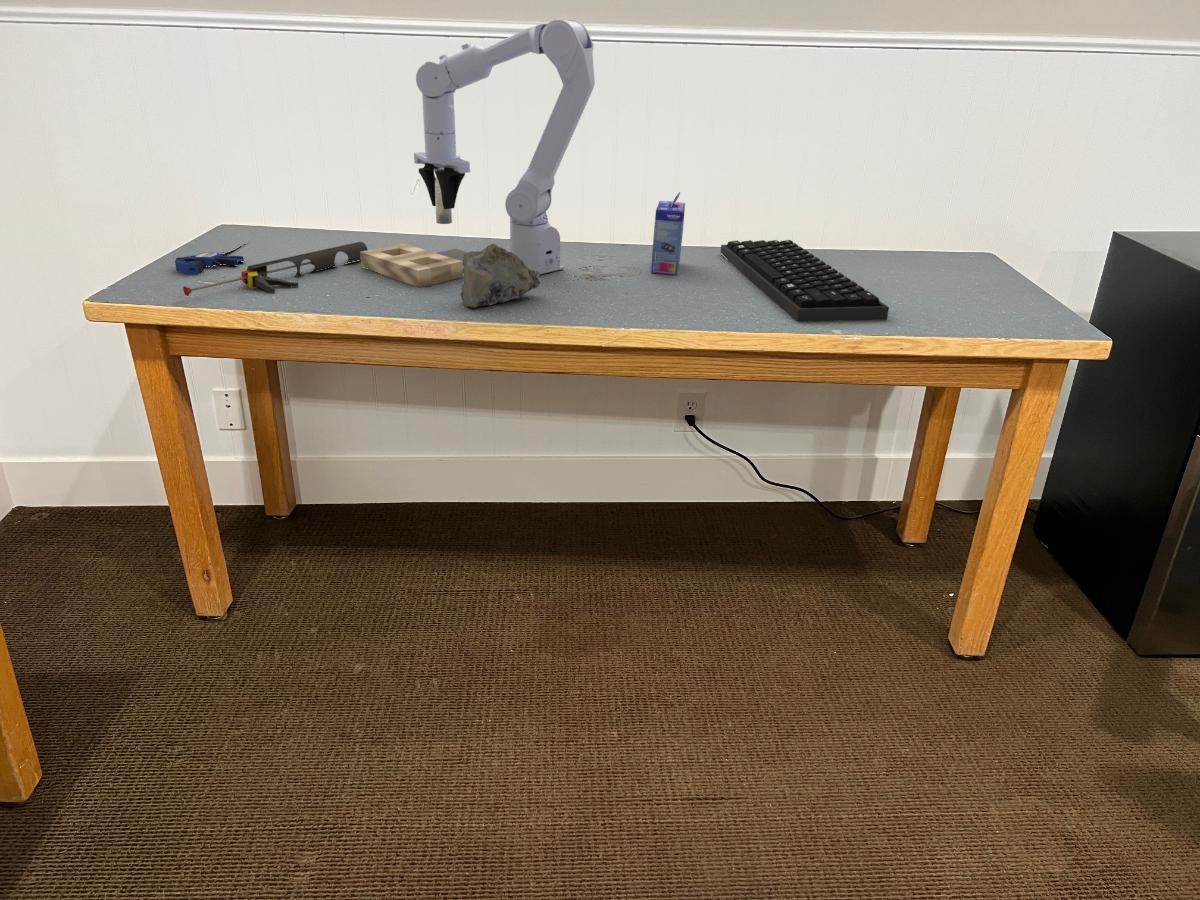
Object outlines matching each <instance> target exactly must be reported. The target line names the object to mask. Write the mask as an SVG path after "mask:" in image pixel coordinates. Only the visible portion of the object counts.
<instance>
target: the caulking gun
mask: <svg viewBox="0 0 1200 900" xmlns="http://www.w3.org/2000/svg"><path fill="white" fill-rule="evenodd" d="M367 250H369V249H368V246H367V244H365V242H364V241H356V242H352V243H347V244H343V245H339V246H333V247H329V248H325V249H321V250H316V251H312V252H311V251H309V252H307V253H302V254H298V255H297V254H296V255H292V256H287V257H284V258H278V259H274V260H270V261H269V260H268V261H264V262H260V263H256V264H251V265H248V266H247V267H246V270H243V271H241V274H240V275H241V276H240V277H236V278H232V279H227V280H223V281H218V282H214V283H210V284H204V285H200V286H197V287H193V288H190V287H187V286H186V285H184V286H183V287H182V290H183V291H182V292H183V294H184V295H185V296H186V297H189V296H190V294H191V293H192V292H193V291H199V290H202V289H203V290H204V289H207V288H212V287H216V286H221V285H224V284H229V283H232V282H237V281H242V283H243V284H245V285H247V286H248V288H249V290H253V289H257V288H260V289H262V290H263V291H265V292H267V293H270V294H275V293H276V289H275V288H273V286H279V287H283V288H284V287H285V288H294V287H293V286H297V287H296V288H298V287H299V282H298V281H297V282H293V281H288V280H286V279H281V278H277V277H275V278H274V277H270V276H268V275H269V274H272V273H276V272H282V271H286V270H290V269H294V268H296V274H294V276H295V277H298V276H297V275H300V276H302V275H301V274H302V272H301V267H303V266H306V265H307V266H308V265H313V266H314V267H313V270H310V272H312V273H314V272H313V271H316V272H318V271H317V270H321V269H325V268H328V267H333V266H336V262H335V261H336V256H337V254H338V253H340V252H341V253H344V254H345V255H347V258H348V259H347V260H346V261H347V262H346V261H345V263H348V262H352V261H357V260H361V258H360V252H361V251H367ZM305 260H308V261H306V262H303V261H305ZM285 262H291V263H293V265H290V266H284V267H280V268H275V269H271V270H268V266H271V265H276V264H281V263H285ZM333 268H334V267H333ZM325 270H326V269H325ZM321 271H322V270H321ZM300 272H301V273H300ZM291 286H292V287H291Z"/></svg>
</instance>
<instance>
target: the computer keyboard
mask: <svg viewBox="0 0 1200 900" xmlns="http://www.w3.org/2000/svg"><path fill="white" fill-rule="evenodd" d="M720 253H722V254H723V255H724V256H725V257H726V258H727V259H728V260H729V261H730V262H731V263H732V264H733V265H734V266H735V267H736V268H737V269H736V268H735V267H734V266H733V265H732V264H731V263H730V262H729V263H730V264H731V265H732V266H733V267H734V268H735V269H736V270H738V272H739V273H740V274H742V275H743V276H744V277H745V278H746V279H748V280H749V281H750V282H751V283H753V284H754V286H756V287H757V288H758V289H759V290H760V291H761V292H762V293H763V294H765V295H766V296H767V297H768V298H769V299H770V300H772V301H773V302H774V303H775V304H776V305H777V306H778V307H780V308H781V309H782V310H783V311H784V312H785V313H786V314H788V315H789V316H790V317H791V318H792V319H793V320H794V321H796V322H799V323H800V322H836V321H837V322H838V321H839V322H840V321H841V322H843V321H844V322H845V321H875V320H876V321H881V320H882V321H883V320H888V316H889V309H890V307H889V306H888V305H886V304H885V303H883V302H882V301H881V300H880V298H879V297H878V296H876V295H875V294H873V293H871V292H870V291H868V290H866V289H865V288H864V287H863V286H861V285H858V283H856V282H855V281H854V280H851V279H850V278H849V277H847V276H845V275H844V274H843V273H842V272H839V271H838V270H836V269H835V268H834V267H832V266H830V265H829V264H827V263H826V262H824V261H823V260H821V259H820V258H819V257H818V256H817V257H816V256H815V255H814V254H812V253H809V251H807V249H804V247H801V246H800V245H799V244H797V243H795V242H794V241H793V240H791V239H786V240H780V241H779V240H778V239H775V240H773V239H772V240H767V241H766V240H764V239H763V240H755V241H753V240H751V239H750V240H745V241H744V240H743V241H739V240H738V239H737V240H732V241H730V240H729V241H728V242H727V244H721V245H720Z"/></svg>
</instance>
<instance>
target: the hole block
mask: <svg viewBox="0 0 1200 900" xmlns="http://www.w3.org/2000/svg"><path fill="white" fill-rule="evenodd" d="M360 258H361V261H360V267H361V266H363V267H365V268H368V269H370V270H373V271H375V272H374V273H376V272H378V273H377V274H379V273H381V274H380V275H382V274H383V275H382V276H385V275H386V276H385V277H388V276H389V277H388V278H391V279H393V280H394V279H395V280H397V281H400V282H402V283H406V284H408V285H411V286H414V287H417V288H422V287H426V286H427V287H428V286H430V285H435V284H440V283H443V282H444V283H445V282H448V281H452V280H456V279H457V280H458V279H462V278H464V273H462V271H463V262H462V261H460V260H457V259H453V258H450V257H447V256H443V255H440V254H437V252H434V251H433V252H432V251H429V250H426V249H423V248H419V247H416V246H413V245H411V244H410V245H409V244H408V243H407V244H406V243H400V244H395V245H389V246H383V247H379V248H374V249H373V248H372V249H368V250H367V251H361V252H360ZM370 270H369V271H370ZM373 271H372V272H373Z"/></svg>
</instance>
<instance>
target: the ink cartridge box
mask: <svg viewBox="0 0 1200 900" xmlns="http://www.w3.org/2000/svg"><path fill="white" fill-rule="evenodd" d="M680 195H681V192H680V191H679V192H678V193H677V195H676V196H675V197H674V199H673V201H670V200H659V202H658V203H657V206H656V209H655V216H654V226H653V227H654V228H653V240H652V252H651V262H650V263H651V265H650V273H654V274H665V275H673V276H677V275H678V273H679V268H680V264H679V263H680V260H681V254H682V253H681V252H682V245H683V244H682V243H683V235H684V224H685V223H684V221H685V207H686V203H685V202H681V201H680V202H679V201H677V200H678V199H679V197H680Z"/></svg>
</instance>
